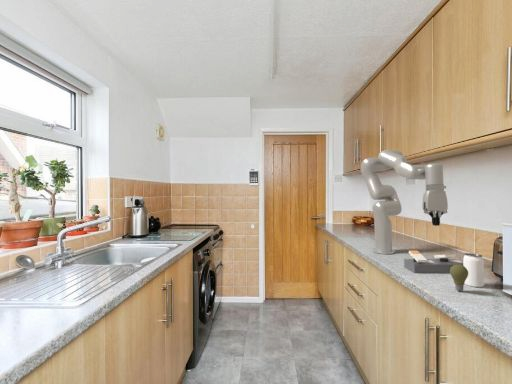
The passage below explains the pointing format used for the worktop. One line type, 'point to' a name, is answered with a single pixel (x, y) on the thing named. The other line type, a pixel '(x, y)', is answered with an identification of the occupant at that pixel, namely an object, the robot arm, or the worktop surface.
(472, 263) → the can
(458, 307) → the worktop surface
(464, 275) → the light bulb
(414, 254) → the rocker
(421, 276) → the worktop surface
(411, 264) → the switch panel
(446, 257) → the rocker
